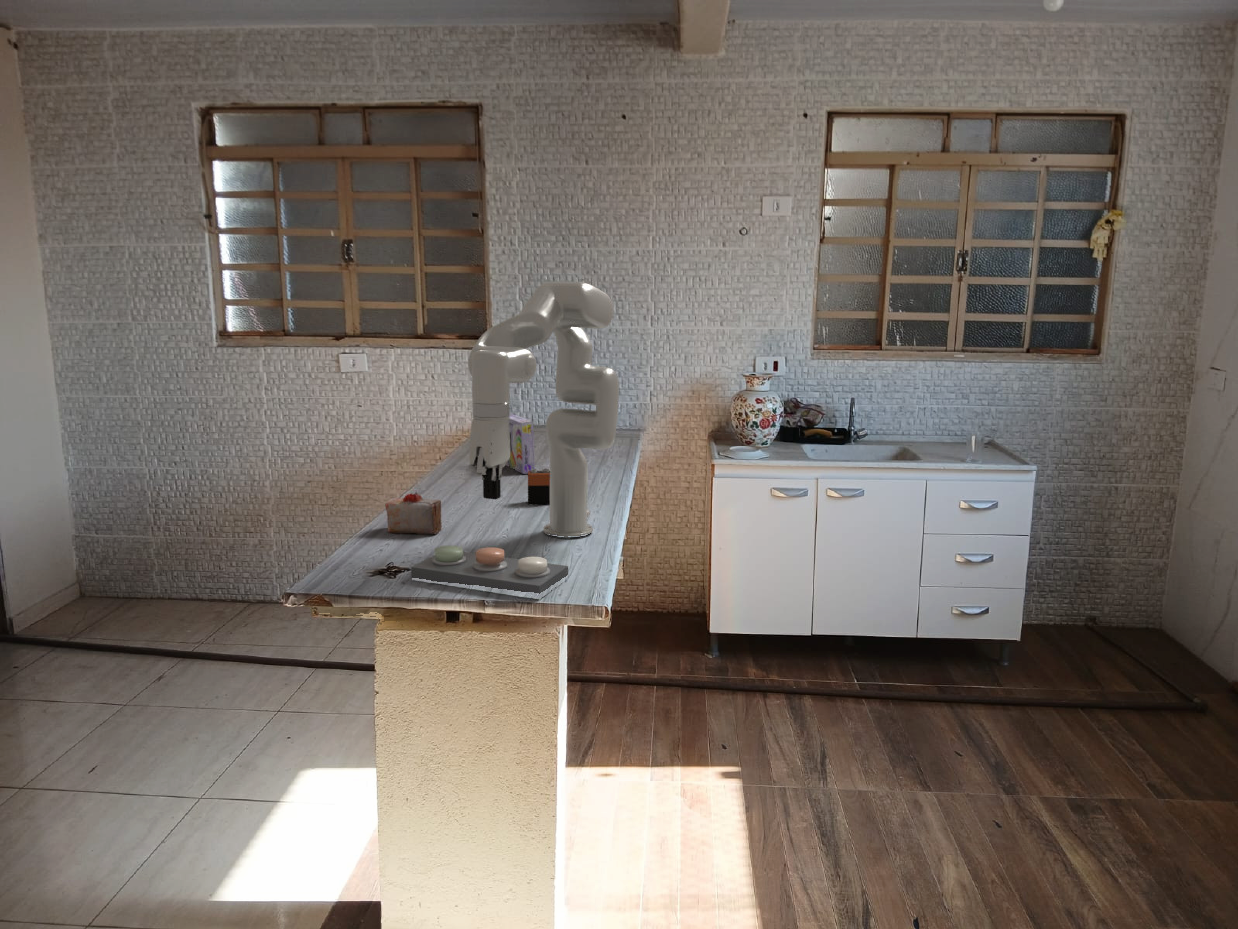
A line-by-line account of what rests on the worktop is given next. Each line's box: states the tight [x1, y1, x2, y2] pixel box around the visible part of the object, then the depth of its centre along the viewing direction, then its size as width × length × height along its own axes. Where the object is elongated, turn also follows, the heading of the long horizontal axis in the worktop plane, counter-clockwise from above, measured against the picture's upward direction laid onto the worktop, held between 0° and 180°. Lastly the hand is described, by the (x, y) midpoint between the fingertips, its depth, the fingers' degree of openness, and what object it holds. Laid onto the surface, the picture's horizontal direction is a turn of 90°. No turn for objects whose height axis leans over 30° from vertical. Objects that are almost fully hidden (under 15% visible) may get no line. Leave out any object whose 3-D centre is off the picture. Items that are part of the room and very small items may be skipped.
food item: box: [384, 492, 443, 535], centre depth 226 cm, size 14×8×10 cm, turn 83°
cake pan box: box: [505, 414, 536, 475], centre depth 303 cm, size 19×5×18 cm, turn 25°
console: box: [410, 551, 569, 594], centre depth 190 cm, size 14×30×4 cm, turn 69°
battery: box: [527, 467, 550, 505], centre depth 257 cm, size 4×7×10 cm, turn 97°
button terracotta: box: [475, 547, 505, 564], centre depth 190 cm, size 6×6×2 cm
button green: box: [434, 545, 464, 562], centre depth 193 cm, size 6×6×2 cm
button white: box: [518, 556, 548, 574], centre depth 186 cm, size 6×6×2 cm
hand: (491, 497), depth 187 cm, fingers closed
